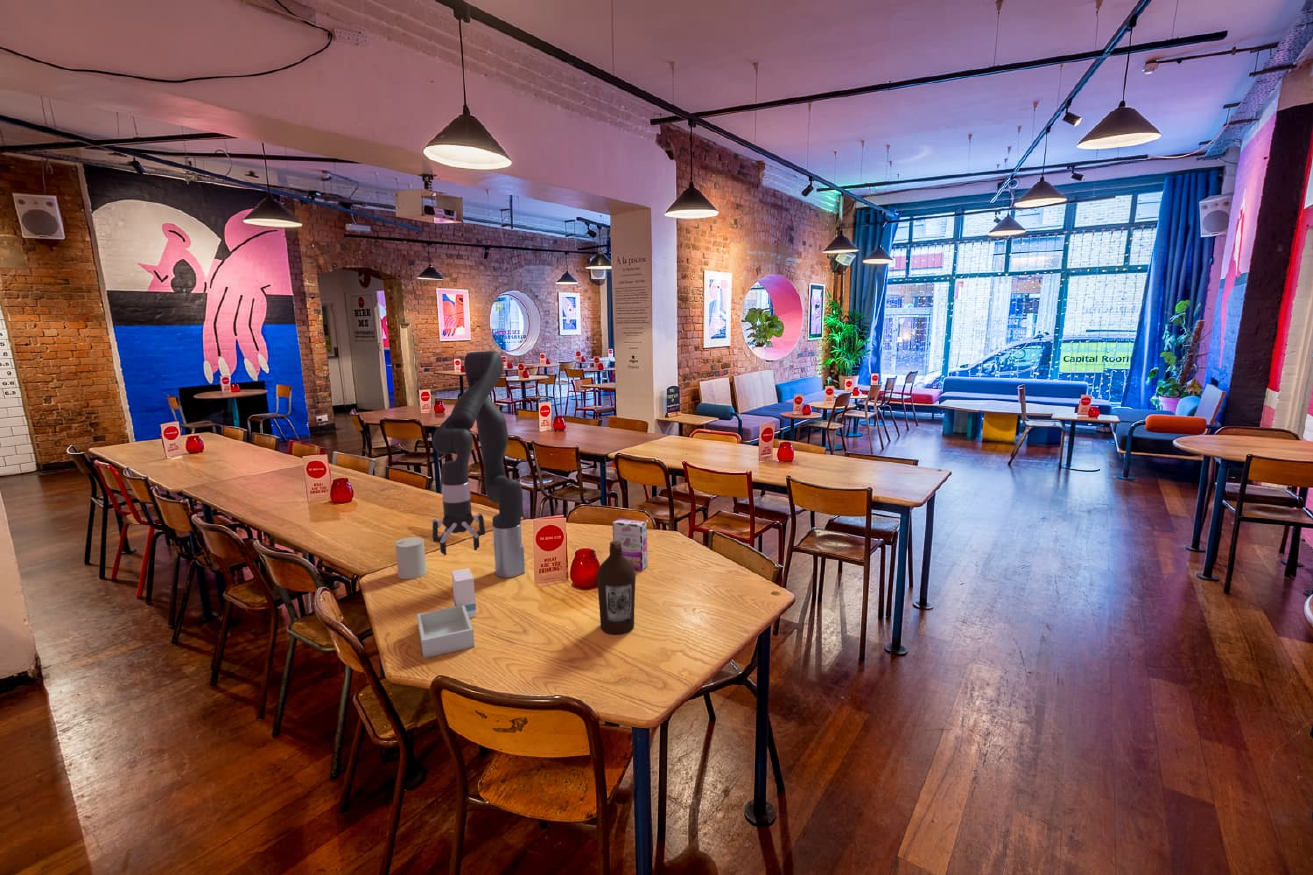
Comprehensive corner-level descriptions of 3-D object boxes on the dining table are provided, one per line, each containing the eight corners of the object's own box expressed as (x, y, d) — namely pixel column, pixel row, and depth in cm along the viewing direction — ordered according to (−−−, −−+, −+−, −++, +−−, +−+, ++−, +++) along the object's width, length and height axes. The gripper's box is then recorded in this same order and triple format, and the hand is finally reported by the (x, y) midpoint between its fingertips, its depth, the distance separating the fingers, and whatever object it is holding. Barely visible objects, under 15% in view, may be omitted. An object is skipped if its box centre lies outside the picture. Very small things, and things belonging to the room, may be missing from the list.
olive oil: (596, 620, 172) (593, 537, 167) (632, 615, 174) (631, 534, 169) (601, 638, 162) (598, 551, 157) (639, 634, 164) (638, 547, 159)
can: (397, 570, 207) (394, 537, 205) (426, 566, 210) (423, 534, 208) (397, 581, 199) (394, 547, 196) (427, 576, 202) (424, 542, 200)
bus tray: (465, 620, 172) (464, 604, 171) (474, 646, 158) (473, 629, 157) (418, 630, 167) (417, 614, 166) (423, 658, 153) (422, 640, 152)
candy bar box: (648, 566, 209) (647, 521, 206) (642, 571, 205) (641, 525, 202) (619, 561, 213) (618, 517, 210) (613, 566, 209) (612, 522, 206)
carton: (472, 605, 182) (469, 567, 179) (476, 616, 174) (473, 578, 172) (454, 608, 179) (451, 571, 177) (458, 620, 172) (455, 581, 170)
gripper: (480, 491, 177) (483, 543, 180) (428, 497, 171) (432, 551, 174) (484, 498, 170) (487, 552, 173) (431, 504, 164) (435, 560, 167)
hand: (460, 551), depth 173 cm, fingers open, 8 cm apart
